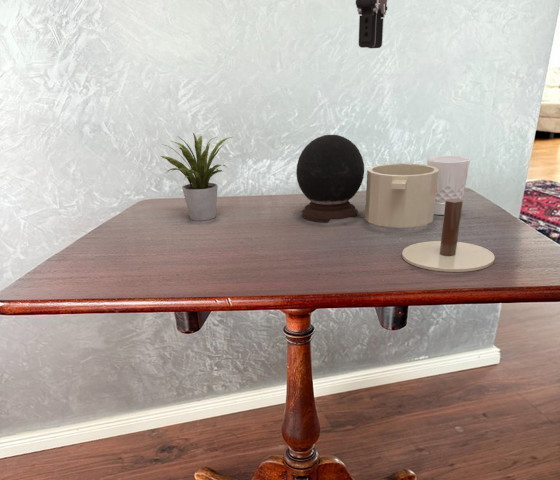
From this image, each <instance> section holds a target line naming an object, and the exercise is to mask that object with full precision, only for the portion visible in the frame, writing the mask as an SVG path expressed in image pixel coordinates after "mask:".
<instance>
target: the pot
mask: <svg viewBox="0 0 560 480" xmlns="http://www.w3.org/2000/svg"><path fill="white" fill-rule="evenodd" d="M437 178H438V168H436V167H433V166H429V165H427V164H422V163H387V164H386V163H385V164H384V163H383V164H378V165H374V166H371V167H369V168H368V169H367V171H366V189H365V191H366V192H365V209H364V210H365V211H364V220H365V221H366V222H367V223H369V224H372V225H375V226H379V227H385V228H397V229H399V228H400V229H406V228H407V229H408V228H418V227H422V226H427V225H429V224H432V223H433V222H434V215H435V214H434V206H435V196H436V187H437Z"/></svg>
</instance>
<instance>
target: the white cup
mask: <svg viewBox="0 0 560 480" xmlns="http://www.w3.org/2000/svg"><path fill="white" fill-rule="evenodd" d="M470 163H471V158H470V157H468V156H461V155H433V156H430V157H428V158H427V161H426V165H429V166H433V167H436V168H438V178H437V187H436V196H435V206H434V215H436V216H444V211H445V202H446V200H447V199H461V200H463V199H464V195H465V190H466V185H467V180H468V174H469V170H470V169H469V168H470V167H469V166H470Z"/></svg>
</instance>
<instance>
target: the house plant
mask: <svg viewBox="0 0 560 480" xmlns="http://www.w3.org/2000/svg"><path fill="white" fill-rule="evenodd" d="M192 134H193V135H192V136H193V139H194V150H195V151H194V152H195V154H194V152H193V150H192V148H191V146H190V145H189V144H188V143H187V142H186V141H185V140H184V139H183V138H181V137H180V136H178V138H179V139H180V140H181V141H182V142H184V144H185V145H184V144H182V143H181V142H177V141H174V140H170V142H171V143H175V144H176V147H177V148H178V149H179V150H181V154H180V153H179V152H177V151H176V150H175V149H174V148H173V147H171V146H169V145H166V144H161V145H162V146H163V145H164V146H166V147H168V148H170V149H171V150H173V151H174V152H175V153H177V155H179V157H181V159H182V160H183V161H184V162H185V164H186V165H187V166H188V167H187V166H186V165H185V164H184V163H182V162H180V161H179V160H177V159H175V158H172V157H170V156H166V155H160V157H161V158H162V159H164V160H166V161H167V162H168V163H170V164H171V165H172V166H174V168H170V169H168V170H167V171H166V173H168V172H170V171H171V172H173V171H179V172H180V173H181V174H182V175H183V176H184V179H187V182H188V183H189V184H188V183H187V184H184V185H183V186H182V188H181V189H182V193H183V197H184V200H185V203H186V207H187V211H188V214H189V218H190V220H191V221H197V222H199V221H200V222H201V221H210V220H213V219H216V216H217V203H218V184H217V183H215V182H210V180H211V178H212V177H213V176H214V175H216V174H218V173H221V172H225V173H226V171H225V170H222V169H219V167H222V166H223V167H226V165H225V164H214V165H213V166H212V167H211V164H212V163H213V160H214V158H215V157H216V155H218V153H219V152H220V149H221V148H222V147H223V144H224V142H226V141H227V140H230V139H232V138H233V136H230V137H229V136H228V137H225V138H223V139H221V140H220V141H218V142H217V143H216V144H215V146H214V147H213V149H212V150H211V153H210V154H209V150H210V145H211V143H210V142H211V141H212V140H214V139H217V138H218V136H216V137H212V138H211V139H210V140H209V141H208V142H207V143H206V146H205V149H204V150H203V149H202V148H203V136H202V135H200V136H198V138H197V136H196V134H195V132H192ZM177 145H178V146H177ZM186 146H187V147H186ZM202 150H203V151H202ZM185 159H186V160H185Z"/></svg>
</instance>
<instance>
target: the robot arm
mask: <svg viewBox="0 0 560 480" xmlns="http://www.w3.org/2000/svg"><path fill="white" fill-rule="evenodd" d="M355 6H356V10H357V11H356V12H357V14H358V15H359V17H358V18H359V19H358V47H359V48H363V49H364V48H367V49H380V48H381V47H382V46H383V36H384V34H383V33H384V18H385V17H386V15H387V11H388V0H355Z"/></svg>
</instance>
